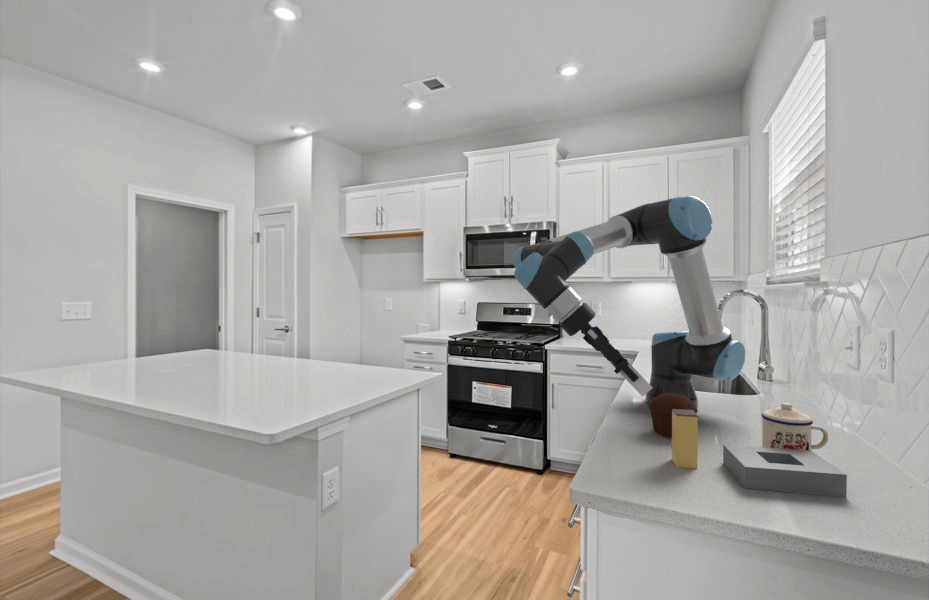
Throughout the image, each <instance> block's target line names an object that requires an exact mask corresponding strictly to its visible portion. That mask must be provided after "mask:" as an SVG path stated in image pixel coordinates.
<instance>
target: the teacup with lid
mask: <svg viewBox="0 0 929 600" xmlns="http://www.w3.org/2000/svg"><path fill="white" fill-rule="evenodd" d="M761 418H762V438H761V439H762V440H761V441H762V443H761V445H762V446H761V447H766V448H780V449H795V450H810V451H812V450H819V449H822V448H824V447H825V446H826V445H827V444H828V443H829V434H828V431H827V430H826V429H825V428H823V427H821V426H819V425H814V424H813V423H814V421H813V419H812V417H811V416H809V415H808V414H805V413H803V412H801V411H799V410H797V409H795V408H793V404H791V403H789V402H782V403H781V404H780V406H777V407H775V408H772V409H767V410H764V411H762V413H761ZM812 430H814V431H815V430H817V431H821V432H822V440H821V441H820V442H819V443H817V444H812Z"/></svg>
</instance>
